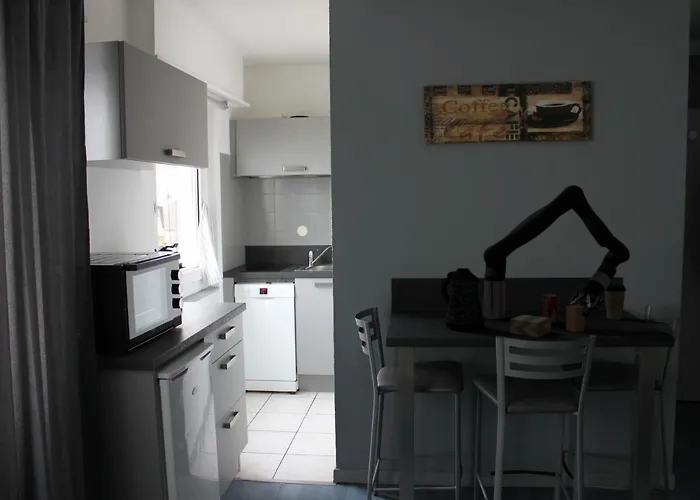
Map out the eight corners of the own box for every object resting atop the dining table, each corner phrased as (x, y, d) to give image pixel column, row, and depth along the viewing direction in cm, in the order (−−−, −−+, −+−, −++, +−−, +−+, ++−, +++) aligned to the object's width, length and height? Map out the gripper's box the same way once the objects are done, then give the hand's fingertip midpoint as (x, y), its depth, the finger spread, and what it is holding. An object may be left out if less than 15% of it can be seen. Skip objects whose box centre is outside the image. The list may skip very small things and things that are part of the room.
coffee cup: (615, 321, 274) (616, 287, 273) (598, 317, 282) (598, 284, 281) (630, 319, 278) (631, 285, 277) (612, 315, 286) (613, 283, 285)
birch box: (509, 333, 253) (510, 319, 252) (523, 328, 262) (523, 314, 261) (538, 337, 245) (538, 322, 244) (550, 332, 254) (550, 318, 253)
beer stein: (482, 332, 254) (483, 271, 252) (435, 330, 260) (435, 270, 258) (486, 324, 270) (486, 267, 268) (441, 322, 276) (441, 266, 274)
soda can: (558, 323, 270) (559, 296, 269) (541, 323, 271) (542, 296, 270) (556, 320, 277) (557, 294, 276) (540, 320, 278) (540, 293, 277)
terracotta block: (566, 329, 258) (566, 305, 257) (575, 328, 260) (575, 304, 259) (575, 331, 254) (575, 307, 253) (584, 330, 256) (584, 306, 255)
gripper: (579, 277, 266) (558, 306, 262) (606, 280, 253) (584, 311, 249) (588, 288, 268) (567, 317, 264) (615, 292, 255) (594, 323, 251)
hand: (576, 314), depth 256 cm, fingers open, 8 cm apart
